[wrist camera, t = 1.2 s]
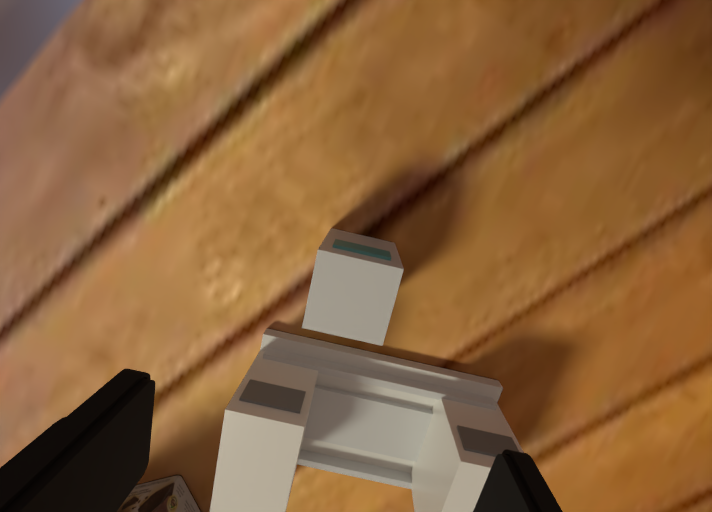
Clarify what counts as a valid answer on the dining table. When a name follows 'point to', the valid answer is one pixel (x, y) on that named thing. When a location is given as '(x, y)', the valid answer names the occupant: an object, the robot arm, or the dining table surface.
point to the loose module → (353, 287)
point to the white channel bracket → (357, 426)
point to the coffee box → (160, 497)
